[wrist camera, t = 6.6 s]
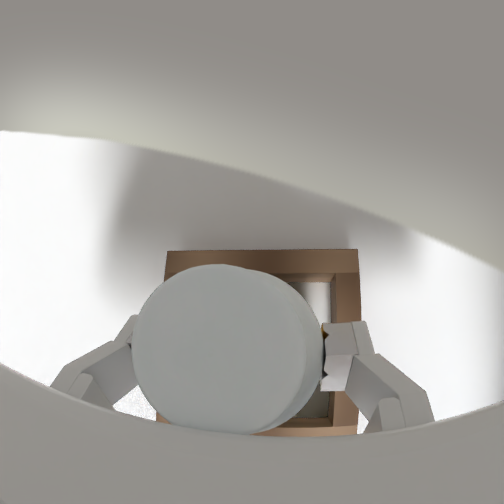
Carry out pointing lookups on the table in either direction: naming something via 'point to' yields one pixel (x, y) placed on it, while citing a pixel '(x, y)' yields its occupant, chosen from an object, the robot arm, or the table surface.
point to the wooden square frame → (297, 270)
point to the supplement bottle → (227, 350)
